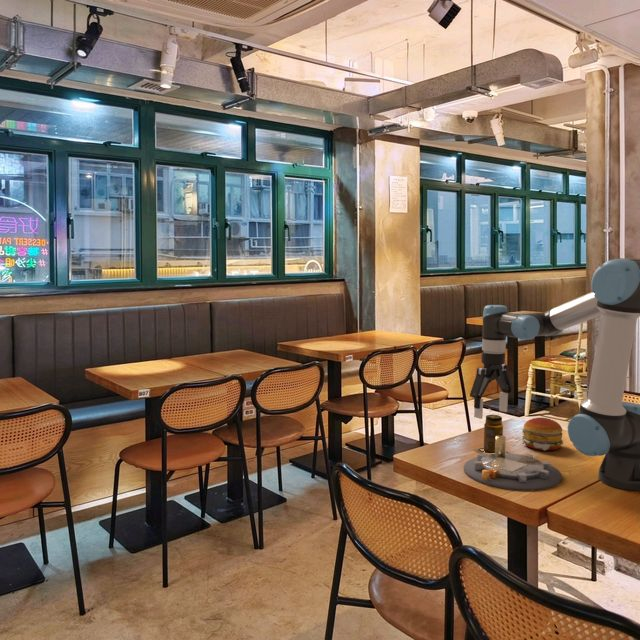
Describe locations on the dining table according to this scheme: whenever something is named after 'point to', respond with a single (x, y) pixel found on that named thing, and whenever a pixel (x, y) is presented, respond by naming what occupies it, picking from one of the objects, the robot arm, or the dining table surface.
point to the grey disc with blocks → (511, 464)
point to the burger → (542, 434)
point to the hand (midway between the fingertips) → (490, 414)
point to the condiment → (491, 433)
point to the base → (512, 484)
